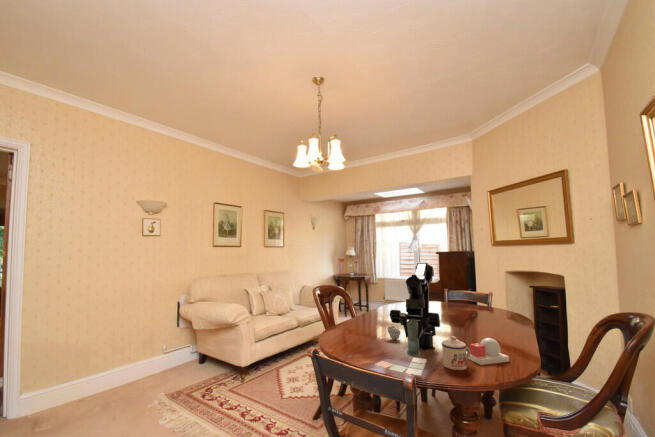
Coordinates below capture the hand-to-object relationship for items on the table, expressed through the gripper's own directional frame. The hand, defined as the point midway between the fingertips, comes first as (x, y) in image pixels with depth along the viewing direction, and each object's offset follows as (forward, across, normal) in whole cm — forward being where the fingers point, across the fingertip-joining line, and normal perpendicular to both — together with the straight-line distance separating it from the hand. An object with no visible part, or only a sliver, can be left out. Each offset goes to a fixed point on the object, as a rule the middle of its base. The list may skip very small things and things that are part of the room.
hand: (412, 337), depth 112 cm
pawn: (+4, 0, +6) cm, 7 cm away
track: (+6, -3, +13) cm, 15 cm away
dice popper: (-11, +25, +30) cm, 40 cm away
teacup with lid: (-1, +15, +20) cm, 25 cm away
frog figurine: (-19, -16, +39) cm, 46 cm away
